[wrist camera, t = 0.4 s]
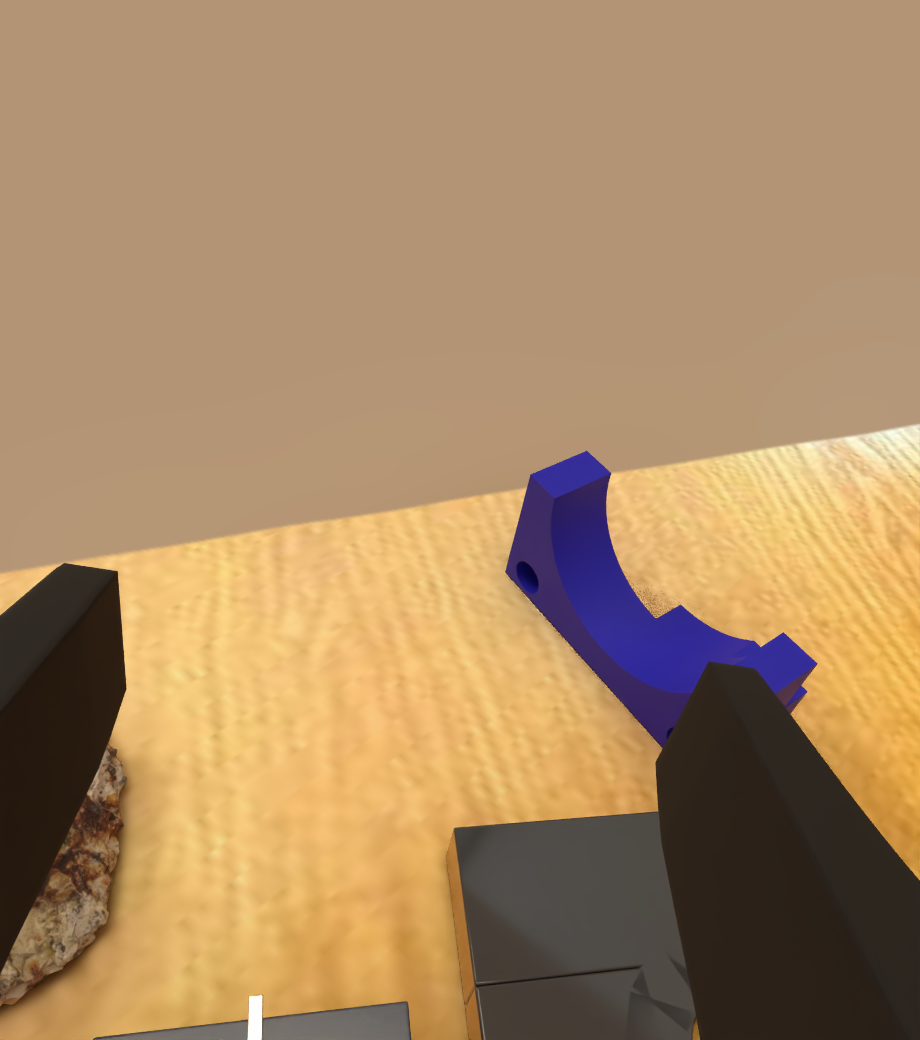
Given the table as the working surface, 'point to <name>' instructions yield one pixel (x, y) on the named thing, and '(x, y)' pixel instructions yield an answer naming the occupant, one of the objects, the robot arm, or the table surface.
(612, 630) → the blue semicircular bracket
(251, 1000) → the rotary dial switch
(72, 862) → the mineral rock
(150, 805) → the table surface
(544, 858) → the dark marbled square slab
